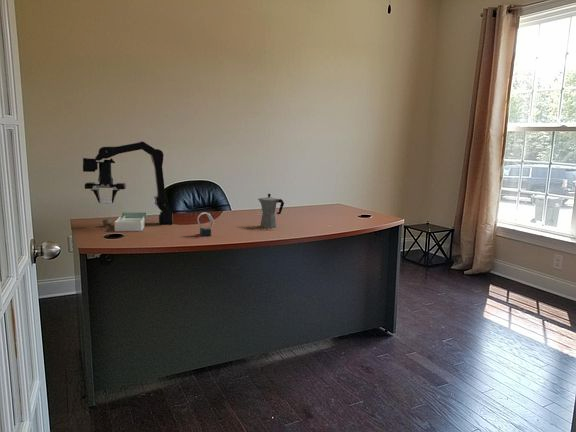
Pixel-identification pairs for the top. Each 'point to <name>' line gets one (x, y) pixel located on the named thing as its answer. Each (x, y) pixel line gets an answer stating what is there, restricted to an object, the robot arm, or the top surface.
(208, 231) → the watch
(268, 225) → the coffeepot
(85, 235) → the top surface
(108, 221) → the stand
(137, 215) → the drawer
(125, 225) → the shallow white bin
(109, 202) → the dome
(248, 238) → the top surface
